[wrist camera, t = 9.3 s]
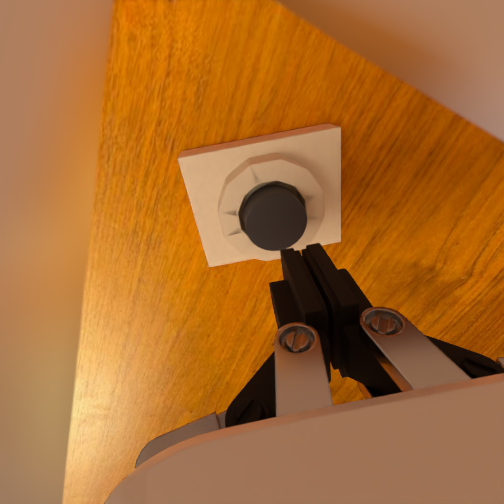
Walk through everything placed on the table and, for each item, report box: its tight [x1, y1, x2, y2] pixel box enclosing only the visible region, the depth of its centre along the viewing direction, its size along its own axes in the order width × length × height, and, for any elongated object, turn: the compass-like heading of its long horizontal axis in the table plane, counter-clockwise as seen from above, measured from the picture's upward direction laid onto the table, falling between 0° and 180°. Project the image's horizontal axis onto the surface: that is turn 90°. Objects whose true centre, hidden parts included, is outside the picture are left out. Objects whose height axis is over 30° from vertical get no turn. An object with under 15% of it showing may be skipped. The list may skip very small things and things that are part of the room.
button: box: [243, 185, 307, 251], centre depth 17 cm, size 4×4×2 cm
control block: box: [178, 123, 341, 267], centre depth 19 cm, size 10×8×4 cm
